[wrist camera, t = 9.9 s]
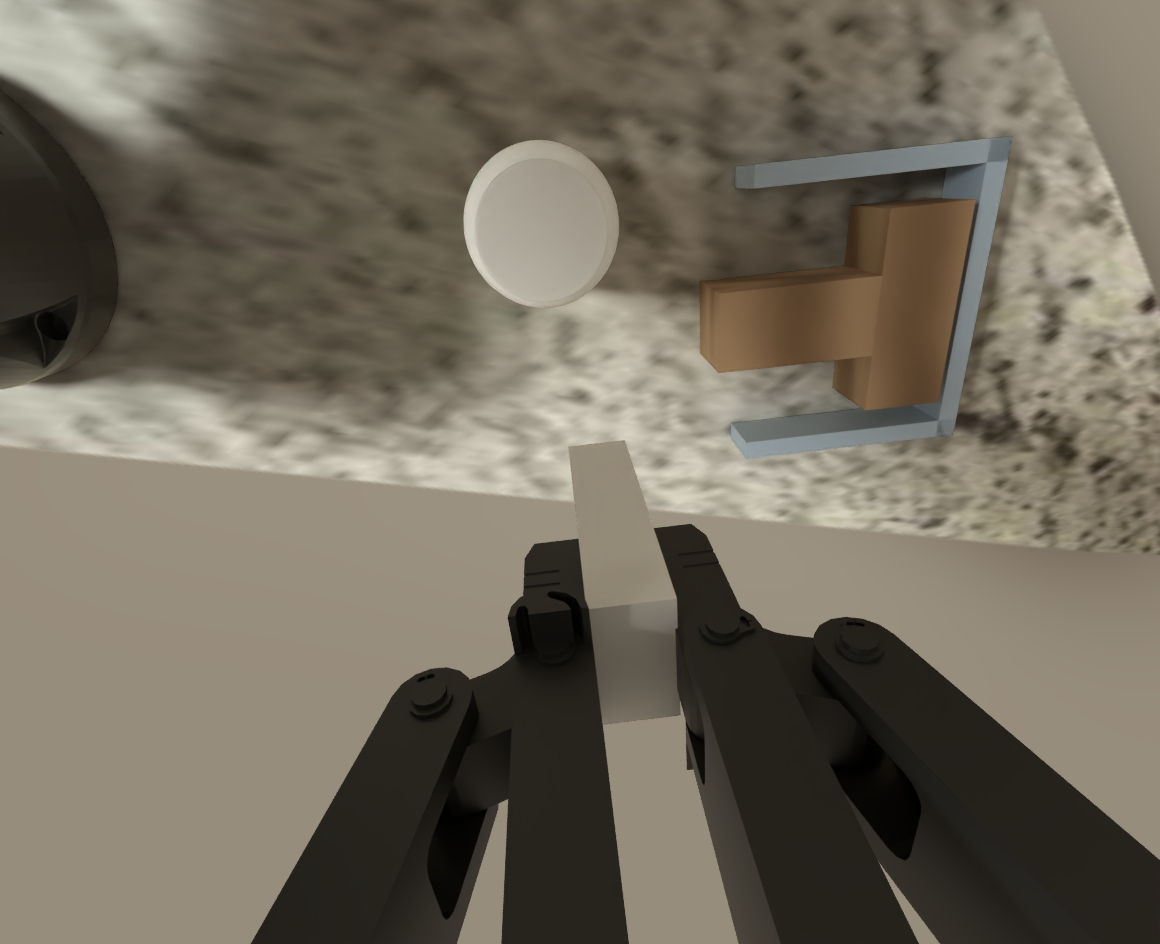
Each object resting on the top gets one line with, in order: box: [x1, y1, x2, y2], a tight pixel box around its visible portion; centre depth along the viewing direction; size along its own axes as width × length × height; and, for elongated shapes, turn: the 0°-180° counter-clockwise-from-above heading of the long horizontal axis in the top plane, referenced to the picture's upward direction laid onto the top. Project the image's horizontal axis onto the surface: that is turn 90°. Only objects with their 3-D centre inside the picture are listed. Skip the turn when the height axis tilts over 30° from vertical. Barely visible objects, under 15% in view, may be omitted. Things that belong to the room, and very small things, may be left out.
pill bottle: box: [463, 140, 619, 308], centre depth 25 cm, size 6×6×11 cm
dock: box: [731, 136, 1013, 459], centre depth 32 cm, size 12×15×3 cm
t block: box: [700, 198, 976, 410], centre depth 31 cm, size 12×10×4 cm
